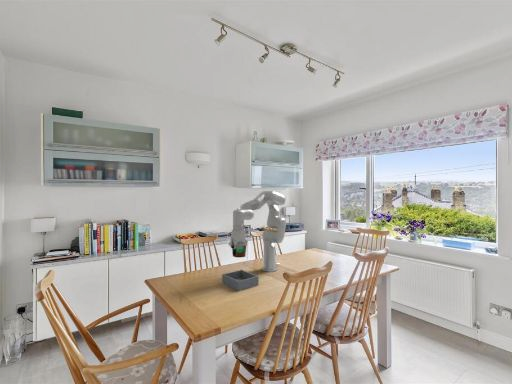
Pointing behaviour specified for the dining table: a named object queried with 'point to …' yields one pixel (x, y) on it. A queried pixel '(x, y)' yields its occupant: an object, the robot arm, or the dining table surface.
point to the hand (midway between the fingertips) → (238, 253)
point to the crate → (240, 280)
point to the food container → (240, 249)
